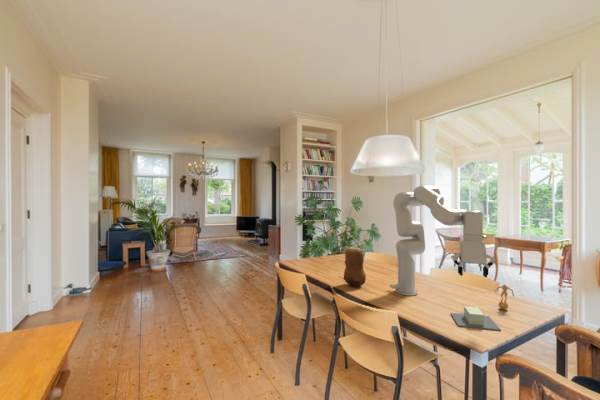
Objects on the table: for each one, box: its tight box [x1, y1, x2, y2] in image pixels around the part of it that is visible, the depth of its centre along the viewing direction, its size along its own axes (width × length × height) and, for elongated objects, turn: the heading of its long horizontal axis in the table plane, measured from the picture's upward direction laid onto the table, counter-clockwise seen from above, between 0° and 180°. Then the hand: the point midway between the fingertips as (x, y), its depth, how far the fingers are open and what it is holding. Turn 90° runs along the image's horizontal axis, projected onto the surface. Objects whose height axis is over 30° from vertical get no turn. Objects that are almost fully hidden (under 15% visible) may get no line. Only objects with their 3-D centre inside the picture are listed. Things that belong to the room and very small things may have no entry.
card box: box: [463, 305, 485, 325], centre depth 126 cm, size 9×6×4 cm, turn 163°
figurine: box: [494, 284, 515, 310], centre depth 141 cm, size 8×6×12 cm
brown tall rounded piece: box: [343, 246, 367, 288], centre depth 181 cm, size 14×13×25 cm
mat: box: [450, 312, 502, 332], centre depth 126 cm, size 16×14×1 cm
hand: (472, 275), depth 126 cm, fingers open, 9 cm apart
